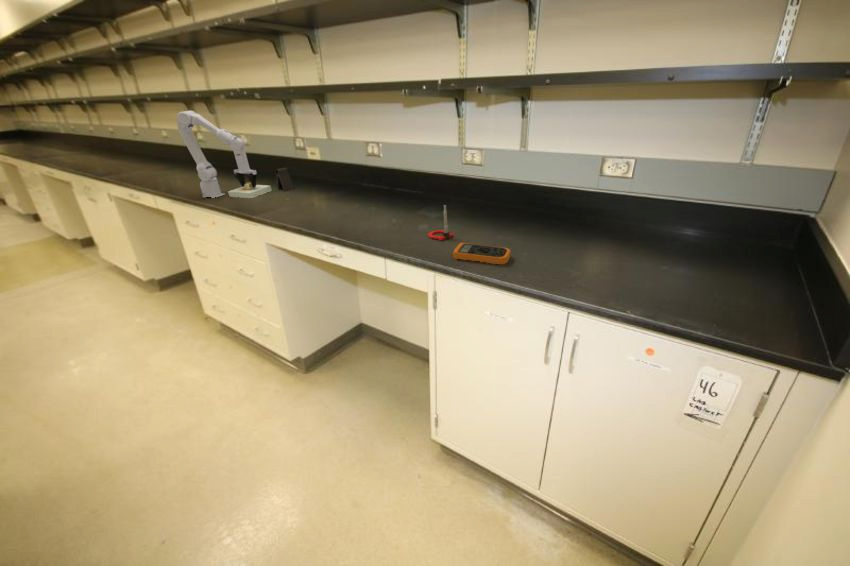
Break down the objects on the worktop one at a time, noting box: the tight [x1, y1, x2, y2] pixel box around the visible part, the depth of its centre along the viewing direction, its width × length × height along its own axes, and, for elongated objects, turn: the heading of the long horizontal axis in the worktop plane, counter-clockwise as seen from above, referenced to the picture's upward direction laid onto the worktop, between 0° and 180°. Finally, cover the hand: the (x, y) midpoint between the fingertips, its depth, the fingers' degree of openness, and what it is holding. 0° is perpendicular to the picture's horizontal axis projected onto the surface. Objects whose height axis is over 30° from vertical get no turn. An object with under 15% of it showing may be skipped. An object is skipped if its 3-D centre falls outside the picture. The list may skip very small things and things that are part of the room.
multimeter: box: [452, 242, 511, 265], centre depth 122 cm, size 9×18×3 cm, turn 67°
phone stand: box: [275, 166, 295, 192], centre depth 213 cm, size 9×6×12 cm, turn 50°
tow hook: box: [427, 204, 455, 242], centre depth 139 cm, size 8×13×9 cm
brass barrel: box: [244, 182, 253, 190], centre depth 208 cm, size 4×4×6 cm
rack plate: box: [227, 184, 273, 200], centre depth 209 cm, size 16×16×3 cm
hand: (249, 186), depth 208 cm, fingers open, 7 cm apart
